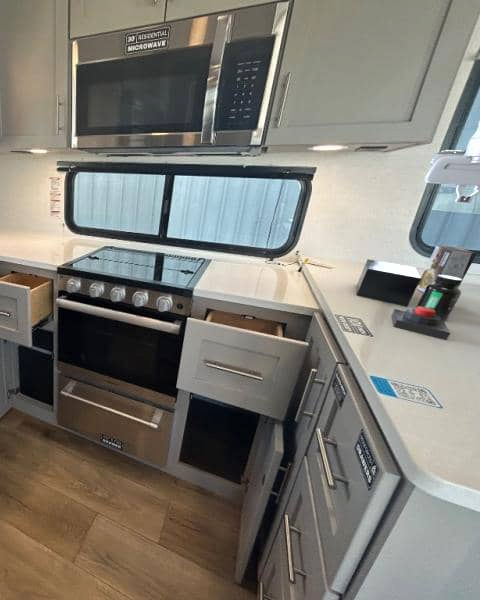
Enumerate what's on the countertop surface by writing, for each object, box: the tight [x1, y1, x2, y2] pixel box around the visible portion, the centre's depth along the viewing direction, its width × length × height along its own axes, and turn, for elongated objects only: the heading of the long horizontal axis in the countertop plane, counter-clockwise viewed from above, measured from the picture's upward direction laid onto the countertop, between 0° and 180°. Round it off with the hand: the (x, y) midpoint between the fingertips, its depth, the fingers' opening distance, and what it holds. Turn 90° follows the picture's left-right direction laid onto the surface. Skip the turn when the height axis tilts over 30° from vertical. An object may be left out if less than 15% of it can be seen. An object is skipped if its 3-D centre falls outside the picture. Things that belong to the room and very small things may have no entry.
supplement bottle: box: [415, 275, 463, 321], centre depth 94 cm, size 7×7×12 cm
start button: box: [414, 306, 436, 318], centre depth 86 cm, size 4×4×2 cm
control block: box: [391, 308, 451, 341], centre depth 87 cm, size 10×10×4 cm
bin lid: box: [366, 259, 422, 281], centre depth 107 cm, size 16×13×1 cm
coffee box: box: [416, 245, 478, 293], centre depth 112 cm, size 9×6×16 cm
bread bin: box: [355, 261, 420, 308], centre depth 109 cm, size 16×13×9 cm
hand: (462, 202), depth 96 cm, fingers closed
